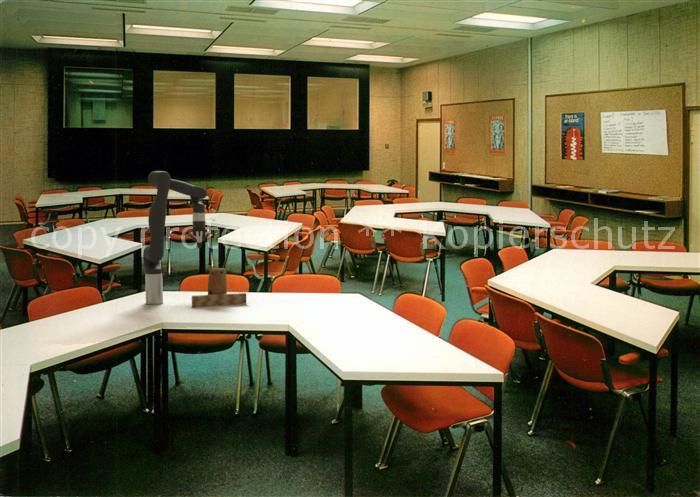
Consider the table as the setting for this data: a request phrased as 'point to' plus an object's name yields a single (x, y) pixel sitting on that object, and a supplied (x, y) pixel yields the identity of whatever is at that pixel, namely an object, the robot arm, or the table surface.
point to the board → (218, 299)
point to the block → (217, 281)
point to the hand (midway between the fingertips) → (199, 248)
